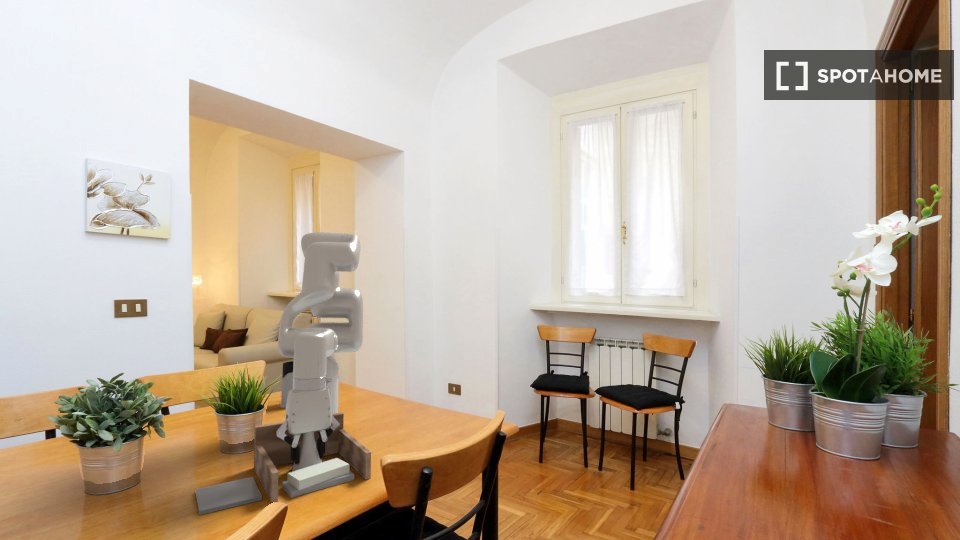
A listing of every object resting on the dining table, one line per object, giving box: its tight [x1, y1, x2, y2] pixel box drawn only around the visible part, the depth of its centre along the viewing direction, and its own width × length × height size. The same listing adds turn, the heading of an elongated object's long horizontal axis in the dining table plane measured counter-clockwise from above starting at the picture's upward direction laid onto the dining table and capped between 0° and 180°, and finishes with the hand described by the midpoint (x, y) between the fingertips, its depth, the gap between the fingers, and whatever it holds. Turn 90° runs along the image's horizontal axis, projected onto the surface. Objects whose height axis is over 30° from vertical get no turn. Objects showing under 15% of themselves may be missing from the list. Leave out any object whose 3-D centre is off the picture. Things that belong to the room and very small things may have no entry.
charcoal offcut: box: [281, 470, 355, 499], centre depth 103 cm, size 6×14×2 cm, turn 130°
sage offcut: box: [286, 457, 350, 490], centre depth 103 cm, size 5×12×2 cm, turn 138°
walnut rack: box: [253, 412, 372, 504], centre depth 109 cm, size 21×21×10 cm
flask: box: [291, 432, 323, 472], centre depth 111 cm, size 7×7×10 cm
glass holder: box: [279, 360, 294, 409], centre depth 168 cm, size 9×14×15 cm, turn 25°
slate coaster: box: [194, 476, 263, 516], centre depth 96 cm, size 11×11×1 cm
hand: (308, 458), depth 111 cm, fingers closed on flask, 4 cm apart
